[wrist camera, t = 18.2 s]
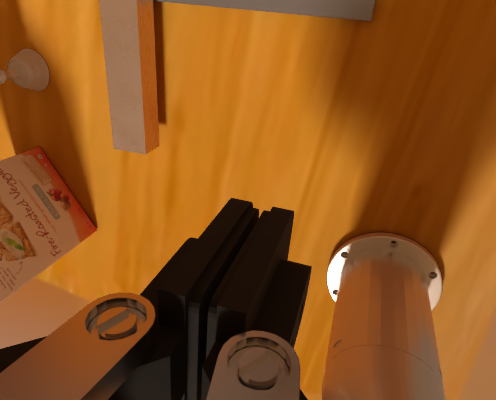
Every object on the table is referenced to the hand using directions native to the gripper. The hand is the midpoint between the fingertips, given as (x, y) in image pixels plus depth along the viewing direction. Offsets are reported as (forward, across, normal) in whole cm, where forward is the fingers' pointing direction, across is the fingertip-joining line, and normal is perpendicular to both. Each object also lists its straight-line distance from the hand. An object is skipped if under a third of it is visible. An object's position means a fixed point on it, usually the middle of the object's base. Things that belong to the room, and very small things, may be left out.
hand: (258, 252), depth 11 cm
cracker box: (+32, +37, +21) cm, 53 cm away
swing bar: (+31, +22, -2) cm, 38 cm away
